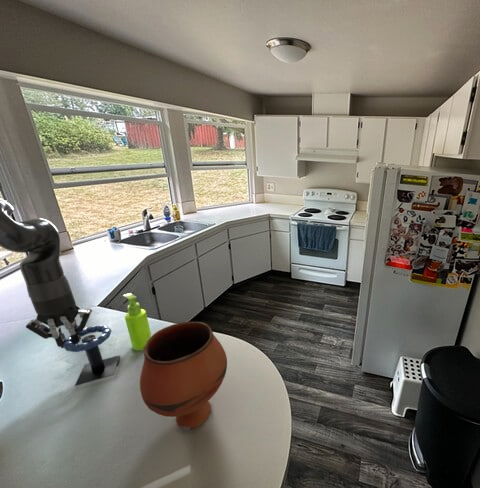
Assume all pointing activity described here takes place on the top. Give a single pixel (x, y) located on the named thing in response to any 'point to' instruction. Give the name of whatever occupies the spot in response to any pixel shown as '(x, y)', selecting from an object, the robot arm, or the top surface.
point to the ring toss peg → (96, 364)
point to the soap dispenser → (137, 323)
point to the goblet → (182, 372)
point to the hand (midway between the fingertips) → (70, 344)
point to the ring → (105, 335)
